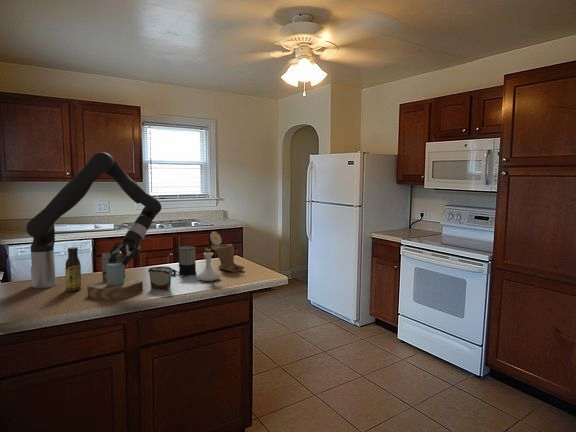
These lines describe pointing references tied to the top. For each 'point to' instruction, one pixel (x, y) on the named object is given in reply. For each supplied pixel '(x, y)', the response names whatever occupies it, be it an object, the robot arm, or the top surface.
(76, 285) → the sauce bottle
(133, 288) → the walnut block
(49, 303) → the top surface
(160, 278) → the food container
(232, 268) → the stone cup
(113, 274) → the slate block
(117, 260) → the coffee box
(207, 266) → the flower in vase
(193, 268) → the milk frother
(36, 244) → the robot arm
